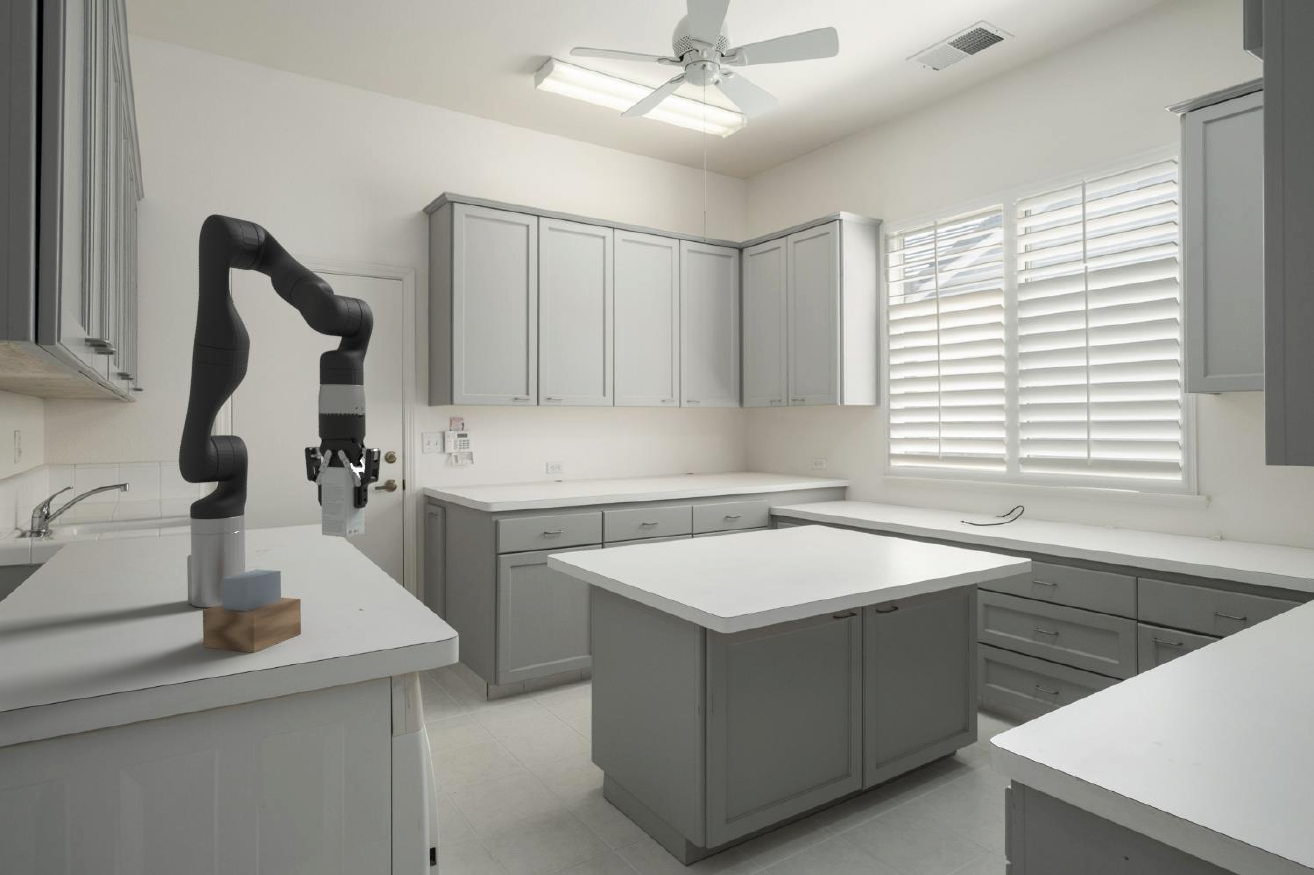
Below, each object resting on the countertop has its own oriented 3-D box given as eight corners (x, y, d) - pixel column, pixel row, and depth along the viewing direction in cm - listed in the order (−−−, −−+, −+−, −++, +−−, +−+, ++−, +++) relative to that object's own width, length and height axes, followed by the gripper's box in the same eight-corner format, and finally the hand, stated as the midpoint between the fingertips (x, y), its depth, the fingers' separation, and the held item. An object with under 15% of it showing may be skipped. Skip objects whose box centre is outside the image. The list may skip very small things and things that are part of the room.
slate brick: (222, 608, 117) (221, 578, 117) (257, 598, 124) (256, 569, 124) (247, 611, 116) (247, 580, 116) (281, 600, 123) (280, 571, 123)
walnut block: (203, 647, 117) (202, 610, 117) (253, 629, 126) (252, 595, 126) (254, 652, 114) (253, 614, 114) (300, 633, 124) (300, 599, 124)
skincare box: (365, 534, 128) (365, 466, 127) (345, 538, 124) (345, 468, 123) (340, 531, 130) (340, 465, 130) (320, 535, 126) (320, 466, 126)
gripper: (291, 411, 124) (292, 507, 125) (363, 411, 121) (364, 511, 121) (322, 411, 132) (323, 502, 132) (391, 411, 128) (391, 506, 128)
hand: (343, 506), depth 127 cm, fingers closed on skincare box, 6 cm apart
